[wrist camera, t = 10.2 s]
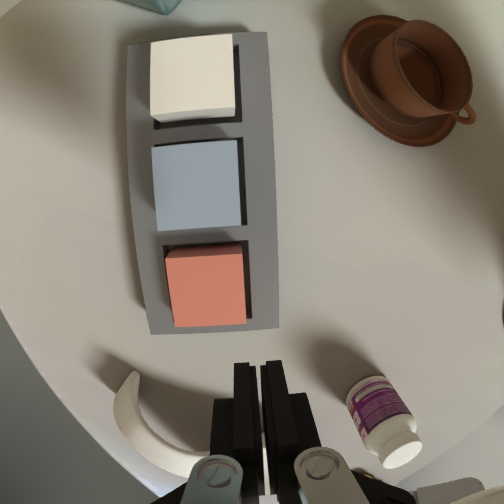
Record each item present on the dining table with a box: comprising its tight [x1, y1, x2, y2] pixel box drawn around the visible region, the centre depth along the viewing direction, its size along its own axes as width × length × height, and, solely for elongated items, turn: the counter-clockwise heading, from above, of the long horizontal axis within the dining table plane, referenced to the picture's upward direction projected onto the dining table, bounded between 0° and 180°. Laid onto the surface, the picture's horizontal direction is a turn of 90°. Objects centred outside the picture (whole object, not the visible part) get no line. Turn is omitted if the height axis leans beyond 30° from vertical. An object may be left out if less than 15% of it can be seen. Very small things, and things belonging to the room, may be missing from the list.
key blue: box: [151, 140, 241, 231], centre depth 19 cm, size 5×5×3 cm
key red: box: [165, 243, 247, 327], centre depth 21 cm, size 5×5×3 cm
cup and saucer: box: [341, 15, 476, 147], centre depth 18 cm, size 12×12×6 cm
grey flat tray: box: [126, 32, 279, 334], centre depth 21 cm, size 10×22×2 cm, turn 3°
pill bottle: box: [346, 376, 422, 469], centre depth 24 cm, size 5×5×10 cm
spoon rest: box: [113, 371, 270, 494], centre depth 26 cm, size 24×12×7 cm, turn 53°
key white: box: [150, 34, 235, 123], centre depth 17 cm, size 5×5×3 cm
